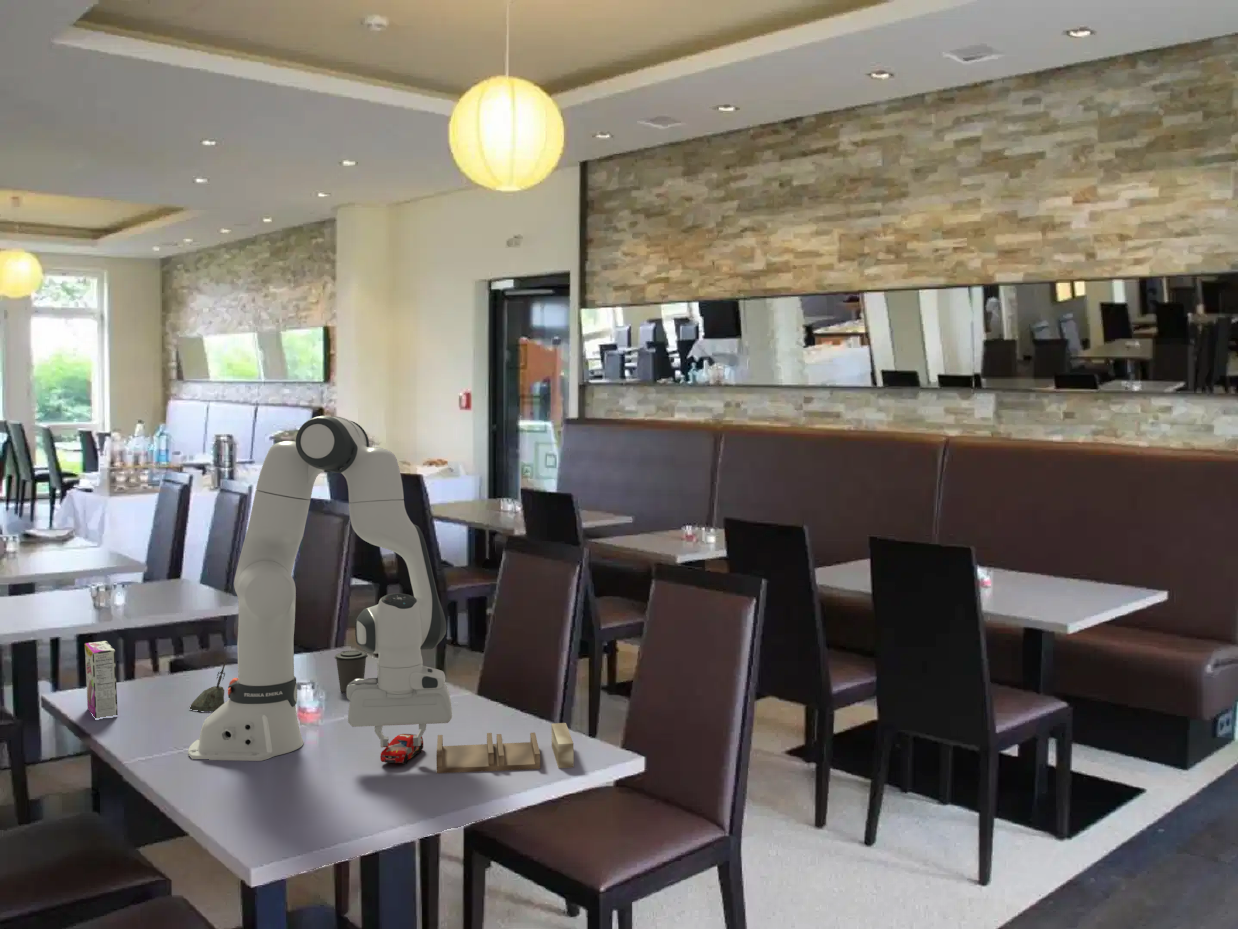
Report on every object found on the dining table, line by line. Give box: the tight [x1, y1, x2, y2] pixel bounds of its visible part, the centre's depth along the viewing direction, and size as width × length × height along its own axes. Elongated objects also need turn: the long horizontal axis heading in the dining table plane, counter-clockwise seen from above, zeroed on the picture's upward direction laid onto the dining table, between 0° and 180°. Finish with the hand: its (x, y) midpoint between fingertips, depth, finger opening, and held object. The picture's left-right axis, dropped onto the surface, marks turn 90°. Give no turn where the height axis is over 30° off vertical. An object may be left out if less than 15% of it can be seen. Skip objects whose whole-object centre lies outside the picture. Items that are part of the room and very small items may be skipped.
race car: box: [380, 733, 424, 765], centre depth 224 cm, size 13×5×4 cm, turn 167°
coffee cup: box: [334, 650, 369, 693], centre depth 275 cm, size 8×8×10 cm
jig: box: [435, 732, 541, 774], centre depth 223 cm, size 20×14×4 cm
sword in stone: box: [189, 657, 228, 711], centre depth 259 cm, size 10×8×12 cm
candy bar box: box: [84, 640, 118, 718], centre depth 253 cm, size 11×5×16 cm, turn 34°
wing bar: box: [550, 722, 575, 769], centre depth 225 cm, size 3×14×5 cm, turn 9°
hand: (400, 746), depth 221 cm, fingers closed on race car, 5 cm apart
